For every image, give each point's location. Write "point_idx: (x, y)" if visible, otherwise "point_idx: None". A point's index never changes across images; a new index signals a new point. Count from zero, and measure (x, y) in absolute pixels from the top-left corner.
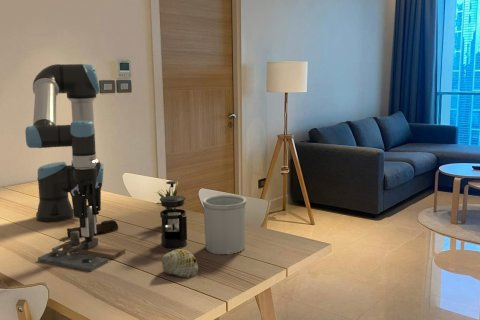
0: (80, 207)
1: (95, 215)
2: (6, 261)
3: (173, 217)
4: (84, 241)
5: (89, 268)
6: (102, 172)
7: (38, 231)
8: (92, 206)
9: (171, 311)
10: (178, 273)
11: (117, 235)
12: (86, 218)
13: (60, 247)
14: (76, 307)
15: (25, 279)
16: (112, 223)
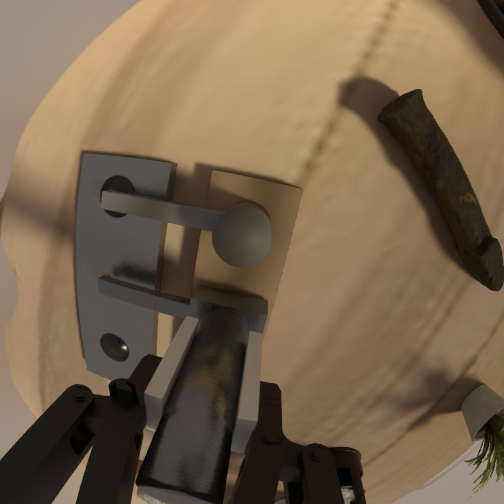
0: (62, 474)
1: (243, 449)
2: (83, 55)
3: None
4: (200, 312)
5: (88, 364)
6: None
7: None
8: (229, 501)
9: None
10: None
11: (428, 312)
12: (147, 428)
13: (133, 213)
14: (13, 370)
15: (9, 222)
16: (488, 283)
